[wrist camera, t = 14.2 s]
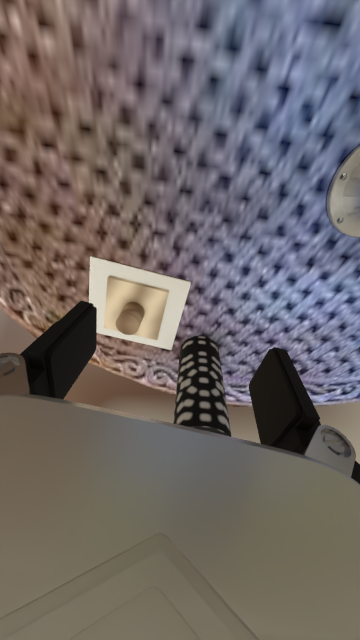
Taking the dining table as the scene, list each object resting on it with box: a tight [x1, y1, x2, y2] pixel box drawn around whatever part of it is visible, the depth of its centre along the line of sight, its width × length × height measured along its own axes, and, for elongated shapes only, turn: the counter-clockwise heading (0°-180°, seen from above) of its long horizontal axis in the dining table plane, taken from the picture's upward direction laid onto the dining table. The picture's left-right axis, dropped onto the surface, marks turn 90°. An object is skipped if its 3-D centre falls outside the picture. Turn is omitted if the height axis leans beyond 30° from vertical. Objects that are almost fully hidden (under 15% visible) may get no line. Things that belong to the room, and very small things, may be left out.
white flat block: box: [89, 256, 191, 350], centre depth 42 cm, size 18×16×1 cm
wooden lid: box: [104, 275, 169, 340], centre depth 39 cm, size 11×11×6 cm
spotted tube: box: [173, 336, 231, 437], centre depth 38 cm, size 8×8×20 cm
